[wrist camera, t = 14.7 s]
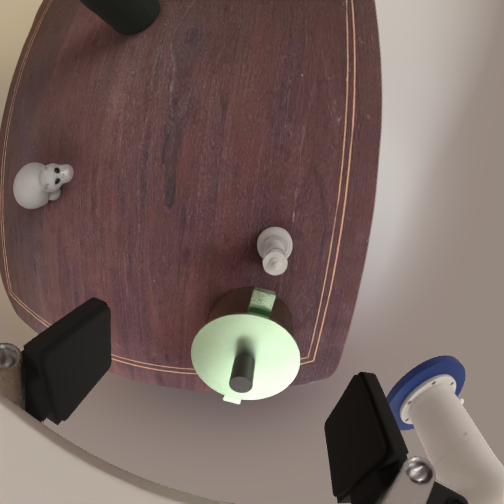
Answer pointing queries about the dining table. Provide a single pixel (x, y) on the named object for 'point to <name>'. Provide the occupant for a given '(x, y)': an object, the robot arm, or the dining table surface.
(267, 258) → the chess piece
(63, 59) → the dining table surface
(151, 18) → the wine bottle
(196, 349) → the pot lid
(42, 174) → the toy rhinoceros
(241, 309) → the pot
